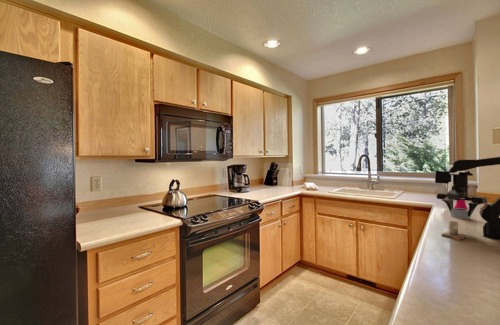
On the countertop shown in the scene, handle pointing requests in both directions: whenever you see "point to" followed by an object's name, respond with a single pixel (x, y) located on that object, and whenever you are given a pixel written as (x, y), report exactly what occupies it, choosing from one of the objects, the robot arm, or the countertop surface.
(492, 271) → the countertop surface
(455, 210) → the steel collar
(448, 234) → the post stand
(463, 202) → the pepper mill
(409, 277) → the countertop surface
